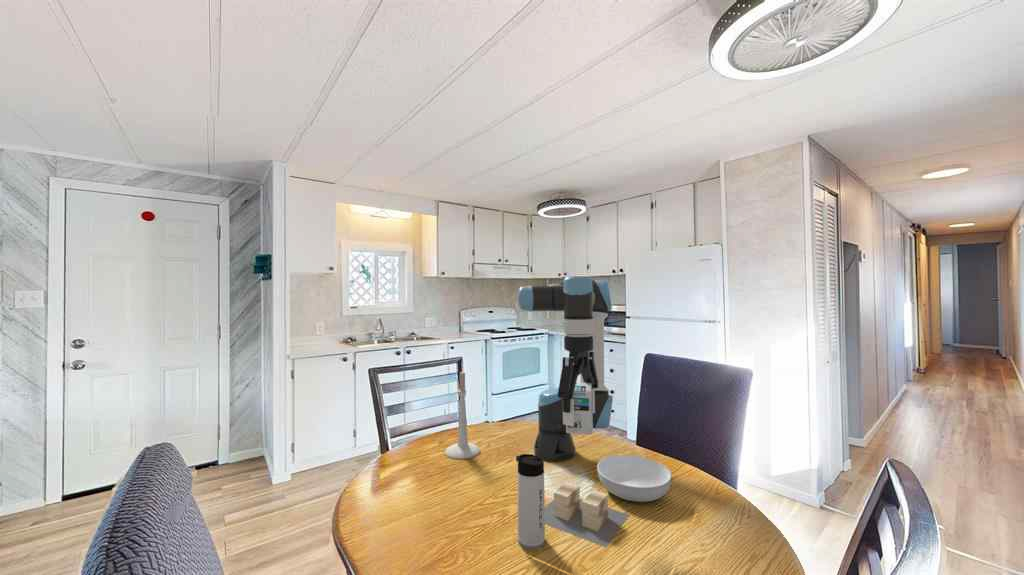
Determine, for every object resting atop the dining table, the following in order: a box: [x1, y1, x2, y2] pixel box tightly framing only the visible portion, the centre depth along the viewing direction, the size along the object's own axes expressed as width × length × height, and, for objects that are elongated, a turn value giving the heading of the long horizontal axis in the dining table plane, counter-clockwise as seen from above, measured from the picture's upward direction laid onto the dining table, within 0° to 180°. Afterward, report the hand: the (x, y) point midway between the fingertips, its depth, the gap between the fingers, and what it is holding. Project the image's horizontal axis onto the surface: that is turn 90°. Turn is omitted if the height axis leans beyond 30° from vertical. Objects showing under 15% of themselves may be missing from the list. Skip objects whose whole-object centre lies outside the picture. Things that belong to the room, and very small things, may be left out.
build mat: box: [545, 498, 630, 548], centre depth 101 cm, size 16×20×1 cm
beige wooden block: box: [553, 481, 581, 521], centre depth 103 cm, size 7×4×6 cm, turn 145°
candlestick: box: [445, 371, 481, 460], centre depth 145 cm, size 13×13×30 cm
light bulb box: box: [566, 381, 594, 436], centre depth 102 cm, size 11×7×11 cm, turn 168°
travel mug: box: [515, 453, 546, 551], centre depth 91 cm, size 6×7×20 cm
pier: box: [582, 489, 609, 531], centre depth 99 cm, size 7×4×6 cm, turn 145°
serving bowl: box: [596, 454, 673, 503], centre depth 114 cm, size 21×21×7 cm
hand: (579, 418), depth 102 cm, fingers closed on light bulb box, 12 cm apart
